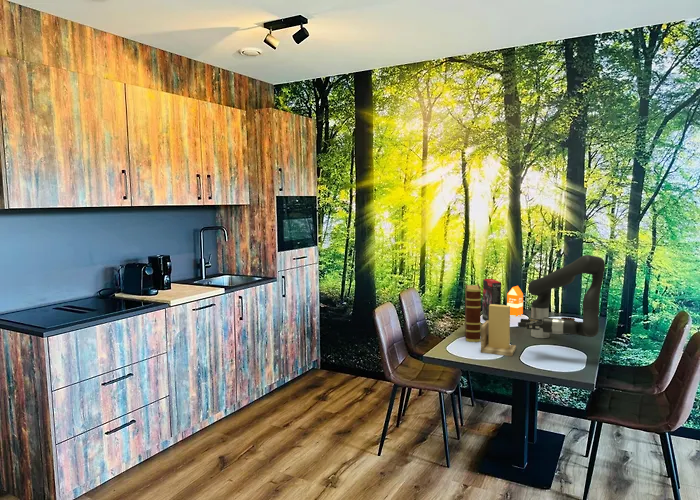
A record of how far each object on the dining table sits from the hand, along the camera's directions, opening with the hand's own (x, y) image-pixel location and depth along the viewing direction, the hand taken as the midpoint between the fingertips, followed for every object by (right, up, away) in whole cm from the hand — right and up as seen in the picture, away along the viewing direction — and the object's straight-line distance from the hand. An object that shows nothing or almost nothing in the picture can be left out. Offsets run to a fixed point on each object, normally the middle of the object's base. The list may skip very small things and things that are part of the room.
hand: (519, 322), depth 246 cm
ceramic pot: (+47, -12, +49) cm, 69 cm away
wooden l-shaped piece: (-9, -16, +6) cm, 19 cm away
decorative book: (-15, -14, +34) cm, 39 cm away
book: (-9, -14, +6) cm, 17 cm away
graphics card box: (+7, -10, +71) cm, 72 cm away
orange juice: (+28, -8, +89) cm, 94 cm away
